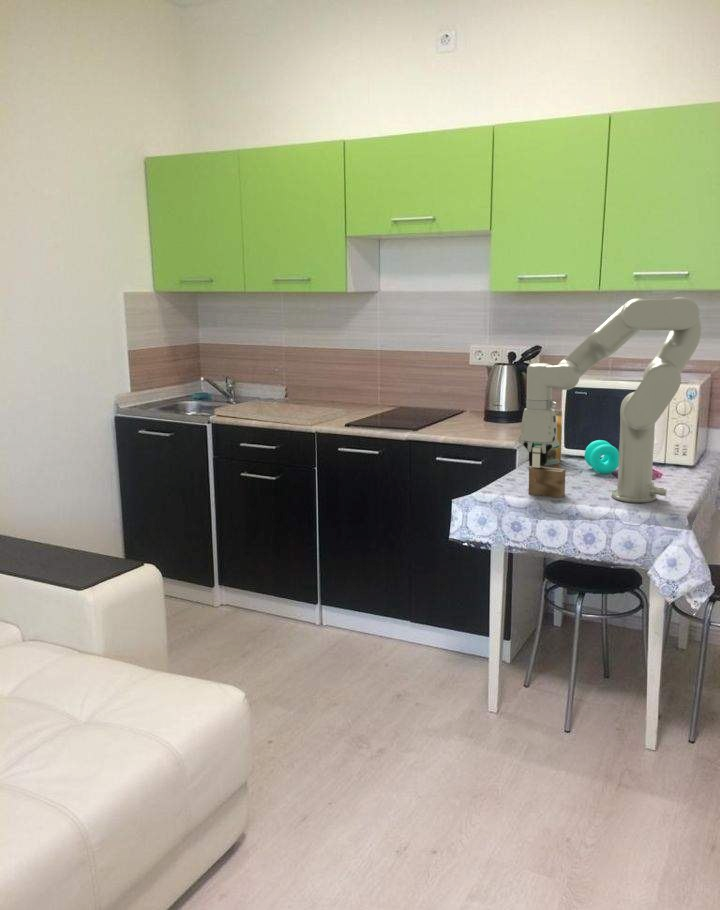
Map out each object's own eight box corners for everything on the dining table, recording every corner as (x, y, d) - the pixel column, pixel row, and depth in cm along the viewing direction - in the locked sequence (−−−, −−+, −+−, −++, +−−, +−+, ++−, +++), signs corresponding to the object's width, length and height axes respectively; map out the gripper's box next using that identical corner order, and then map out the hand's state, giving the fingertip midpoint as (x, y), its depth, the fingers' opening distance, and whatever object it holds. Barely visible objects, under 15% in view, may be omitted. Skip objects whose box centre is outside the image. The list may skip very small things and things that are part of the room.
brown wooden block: (564, 494, 242) (565, 468, 240) (560, 498, 238) (561, 471, 236) (533, 490, 247) (533, 465, 245) (528, 494, 243) (528, 468, 242)
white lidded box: (543, 465, 243) (543, 446, 242) (539, 467, 240) (540, 448, 239) (535, 464, 244) (536, 445, 243) (531, 467, 241) (532, 447, 240)
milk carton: (529, 465, 279) (530, 412, 275) (531, 458, 289) (532, 407, 285) (560, 466, 277) (561, 412, 272) (560, 459, 286) (562, 407, 282)
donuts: (590, 475, 264) (591, 445, 262) (583, 467, 274) (584, 439, 272) (620, 474, 264) (622, 445, 262) (612, 467, 273) (613, 438, 271)
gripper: (569, 404, 237) (567, 464, 241) (517, 401, 245) (516, 459, 249) (561, 408, 231) (559, 470, 235) (509, 405, 239) (508, 464, 243)
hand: (537, 464), depth 242 cm, fingers closed on white lidded box, 2 cm apart
